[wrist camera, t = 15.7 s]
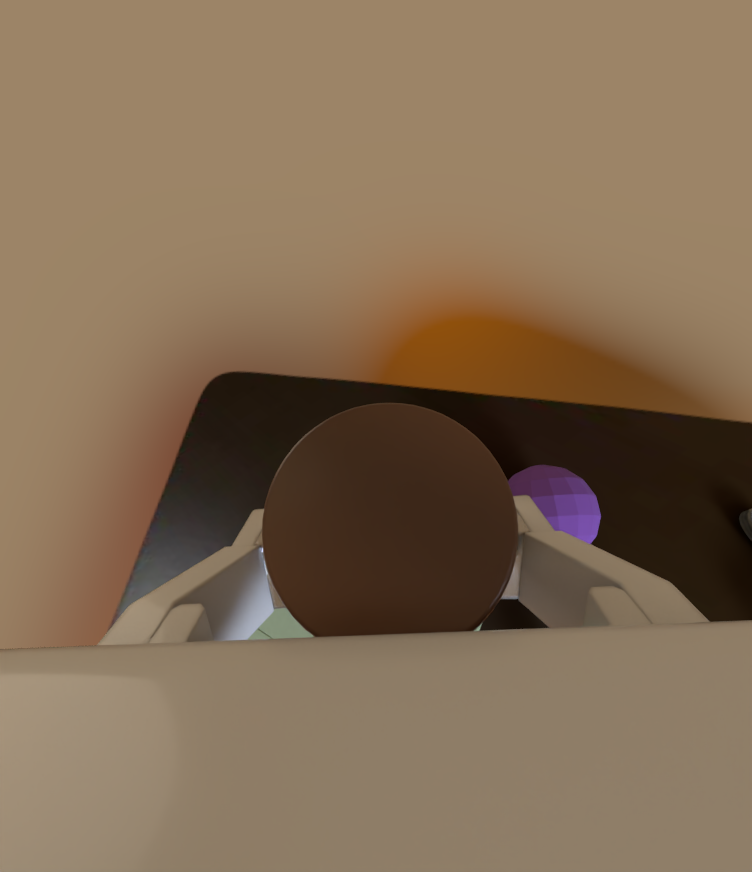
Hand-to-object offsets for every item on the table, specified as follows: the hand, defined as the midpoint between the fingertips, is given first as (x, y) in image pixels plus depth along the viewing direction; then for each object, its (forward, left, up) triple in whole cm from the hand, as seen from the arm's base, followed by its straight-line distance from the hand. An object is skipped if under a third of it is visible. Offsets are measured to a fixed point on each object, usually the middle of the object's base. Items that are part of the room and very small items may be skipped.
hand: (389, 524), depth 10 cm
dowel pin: (0, 0, -6) cm, 6 cm away
